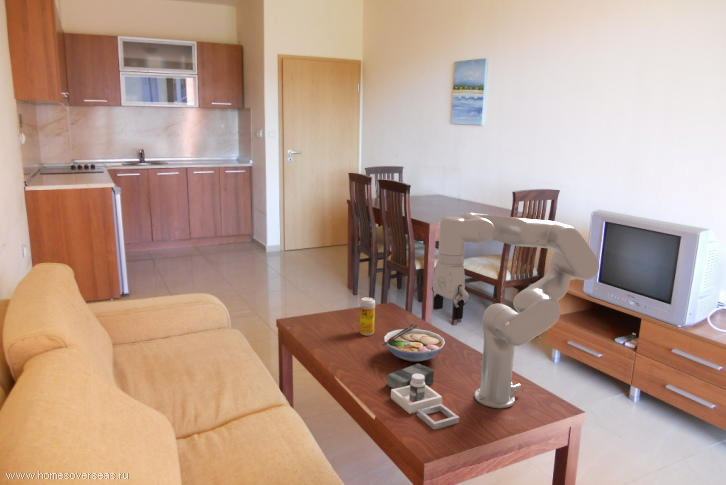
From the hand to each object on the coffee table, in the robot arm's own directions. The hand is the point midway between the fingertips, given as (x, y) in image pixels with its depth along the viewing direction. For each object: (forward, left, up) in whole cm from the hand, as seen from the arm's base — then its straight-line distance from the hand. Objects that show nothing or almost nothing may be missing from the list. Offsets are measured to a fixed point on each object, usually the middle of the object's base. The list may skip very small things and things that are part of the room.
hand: (447, 313), depth 167 cm
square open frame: (+6, +6, -30) cm, 31 cm away
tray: (+6, -6, -30) cm, 31 cm away
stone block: (+1, -17, -31) cm, 35 cm away
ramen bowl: (-12, -34, -31) cm, 47 cm away
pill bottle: (+6, -5, -30) cm, 31 cm away
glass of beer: (-8, -63, -31) cm, 70 cm away
